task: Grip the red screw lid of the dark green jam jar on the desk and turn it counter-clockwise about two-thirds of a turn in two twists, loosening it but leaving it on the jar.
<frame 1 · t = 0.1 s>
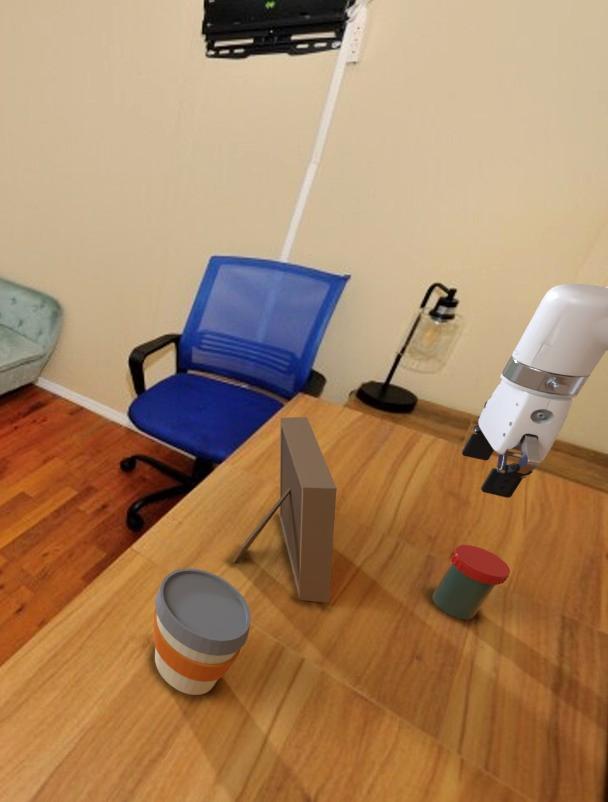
hand: (483, 474, 77), 27 cm above the table, tool pointing down, fingers open, 9 cm apart
photo frame: (270, 551, 99), on the table
jam jar: (452, 605, 88), on the table
reusable coffee cup: (184, 666, 79), on the table
jam lid: (481, 561, 83), point 11 cm above the table, screwed on, not yet turned
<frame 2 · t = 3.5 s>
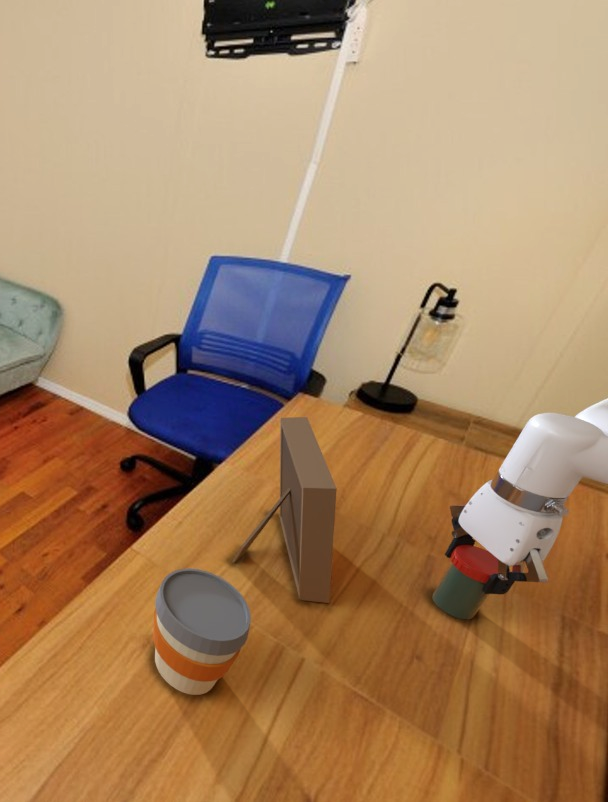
hand: (473, 573, 84), 8 cm above the table, tool pointing down, fingers closed on jam lid, 6 cm apart
jam lid: (480, 561, 83), point 11 cm above the table, screwed on, not yet turned, touching gripper
everything else where it was.
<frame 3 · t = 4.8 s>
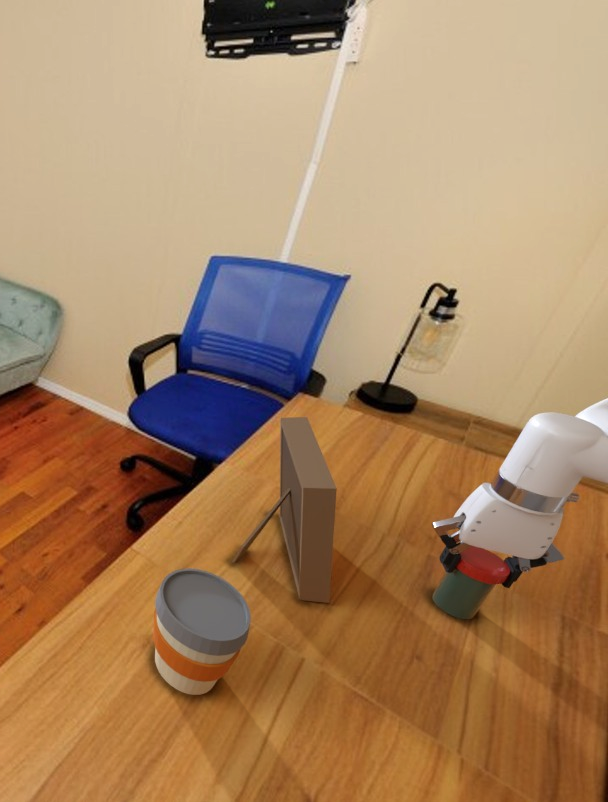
hand: (473, 573, 84), 8 cm above the table, tool pointing down, fingers closed on jam lid, 6 cm apart
jam lid: (481, 561, 83), point 11 cm above the table, turned 66° so far, risen 0.1 cm, still on its thread, touching gripper
everything else where it was.
when the fingers open (7 cm above the table, at t = 6.2 s): jam lid stays where it is, point 11 cm above the table.
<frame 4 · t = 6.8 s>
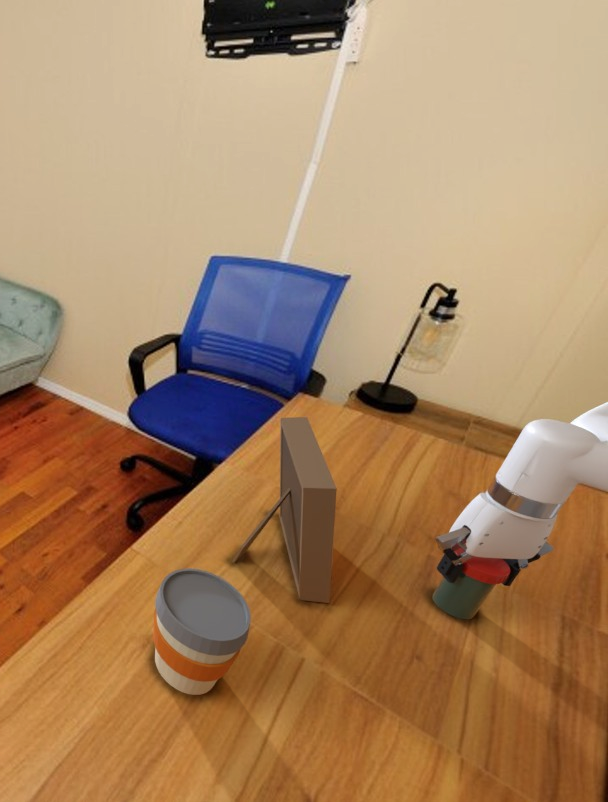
hand: (471, 577, 84), 7 cm above the table, tool pointing down, fingers open, 7 cm apart
jam lid: (481, 561, 83), point 11 cm above the table, turned 90° so far, risen 0.1 cm, still on its thread
everything else where it was.
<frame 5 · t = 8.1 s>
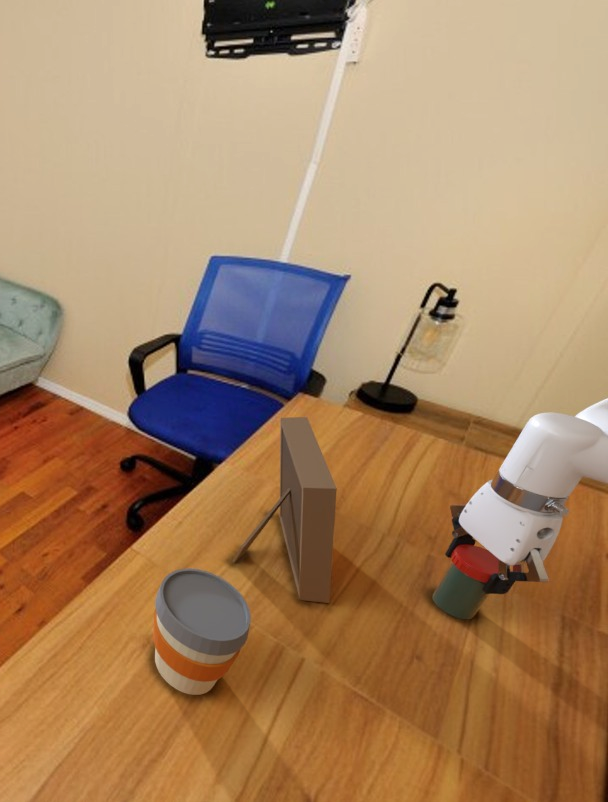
hand: (473, 573, 84), 8 cm above the table, tool pointing down, fingers closed on jam lid, 6 cm apart
jam lid: (481, 561, 83), point 11 cm above the table, turned 90° so far, risen 0.1 cm, still on its thread, touching gripper
everything else where it was.
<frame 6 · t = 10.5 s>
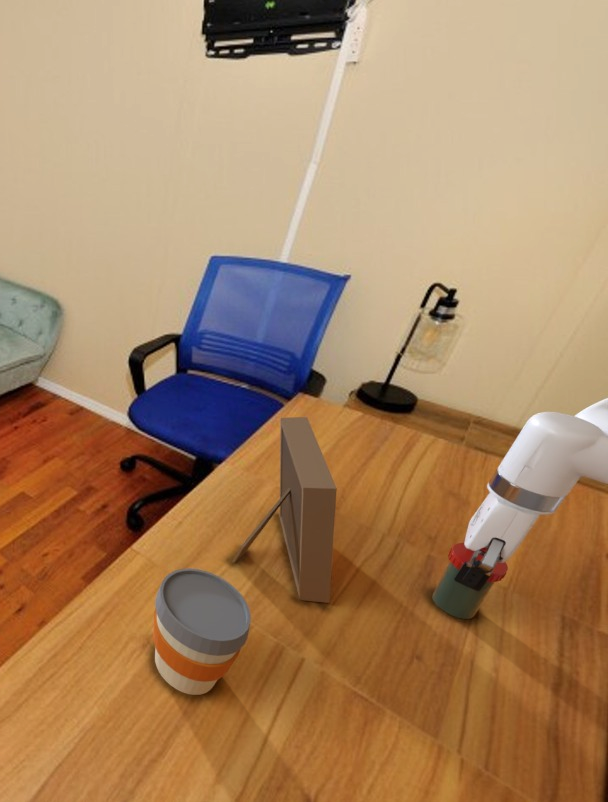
hand: (469, 571, 84), 8 cm above the table, tool pointing down, fingers closed on jam lid, 6 cm apart
jam lid: (478, 559, 83), point 11 cm above the table, turned 224° so far, risen 0.3 cm, still on its thread, touching gripper
everything else where it was.
when the fingers open (7 cm above the table, at t = 11.5 s): jam lid stays where it is, point 11 cm above the table.
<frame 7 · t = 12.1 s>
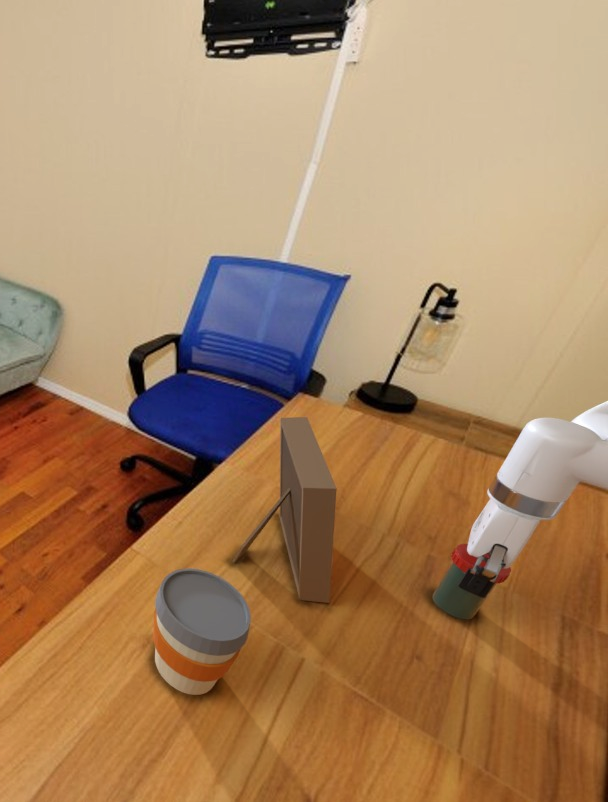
hand: (474, 576, 84), 7 cm above the table, tool pointing down, fingers open, 7 cm apart
jam lid: (481, 560, 83), point 11 cm above the table, turned 225° so far, risen 0.3 cm, still on its thread
everything else where it was.
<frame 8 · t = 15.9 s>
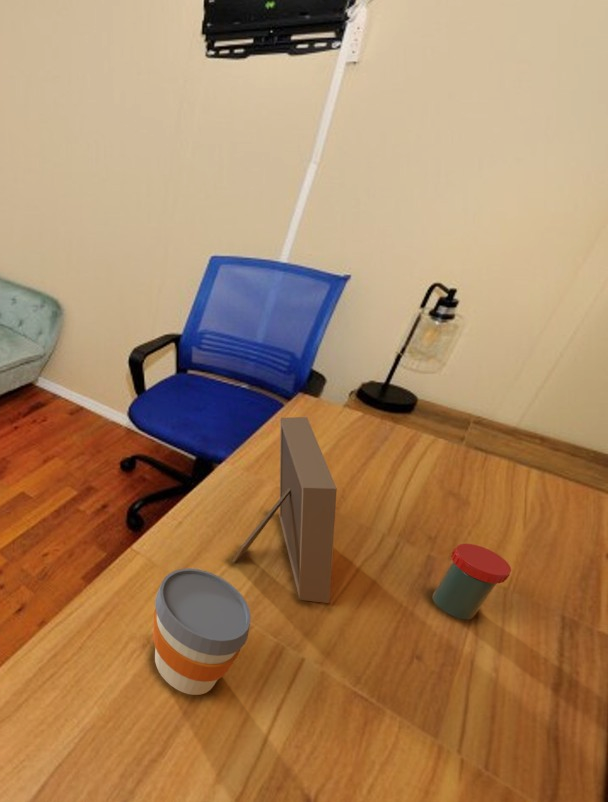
nothing on the table moved.
at the end: jam lid turned 0.62 turns (still on its thread); jam lid is still on its thread (0.62 turns); jam jar tilted 0° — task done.
